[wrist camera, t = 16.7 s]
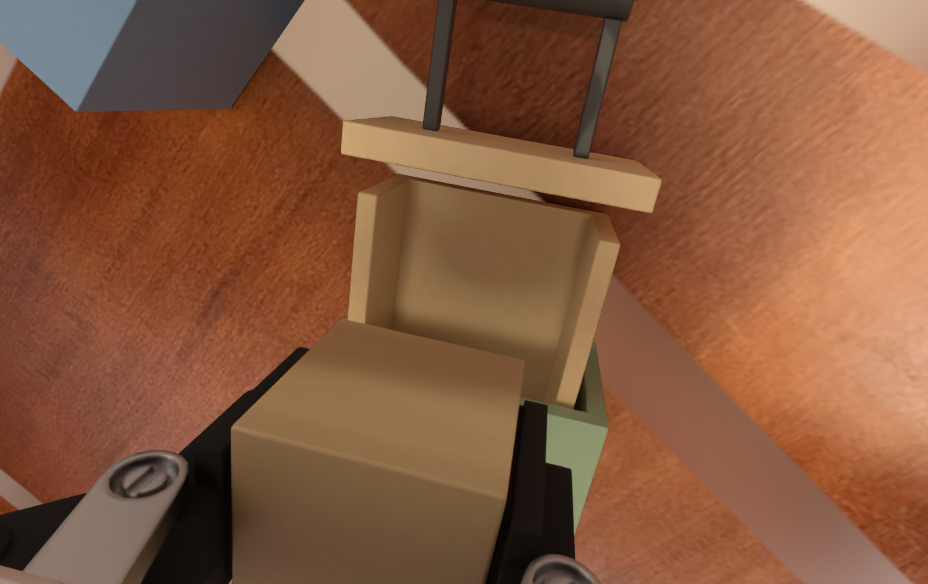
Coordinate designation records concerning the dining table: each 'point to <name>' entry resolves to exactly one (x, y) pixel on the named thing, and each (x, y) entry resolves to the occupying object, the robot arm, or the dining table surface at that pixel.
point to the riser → (144, 49)
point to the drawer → (494, 226)
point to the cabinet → (578, 433)
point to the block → (375, 463)
